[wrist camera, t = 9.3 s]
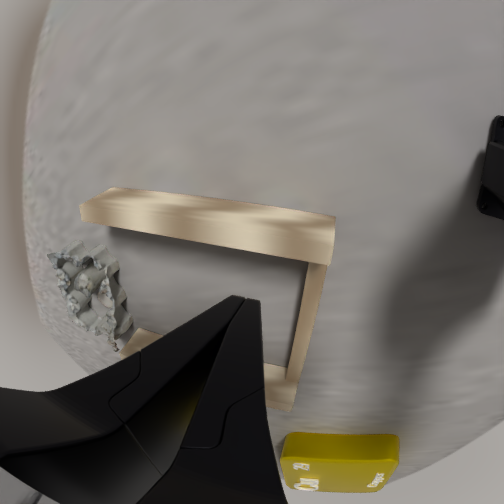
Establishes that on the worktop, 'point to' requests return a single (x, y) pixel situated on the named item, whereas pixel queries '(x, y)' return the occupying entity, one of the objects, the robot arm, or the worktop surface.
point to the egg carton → (91, 289)
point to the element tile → (339, 461)
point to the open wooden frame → (234, 236)
